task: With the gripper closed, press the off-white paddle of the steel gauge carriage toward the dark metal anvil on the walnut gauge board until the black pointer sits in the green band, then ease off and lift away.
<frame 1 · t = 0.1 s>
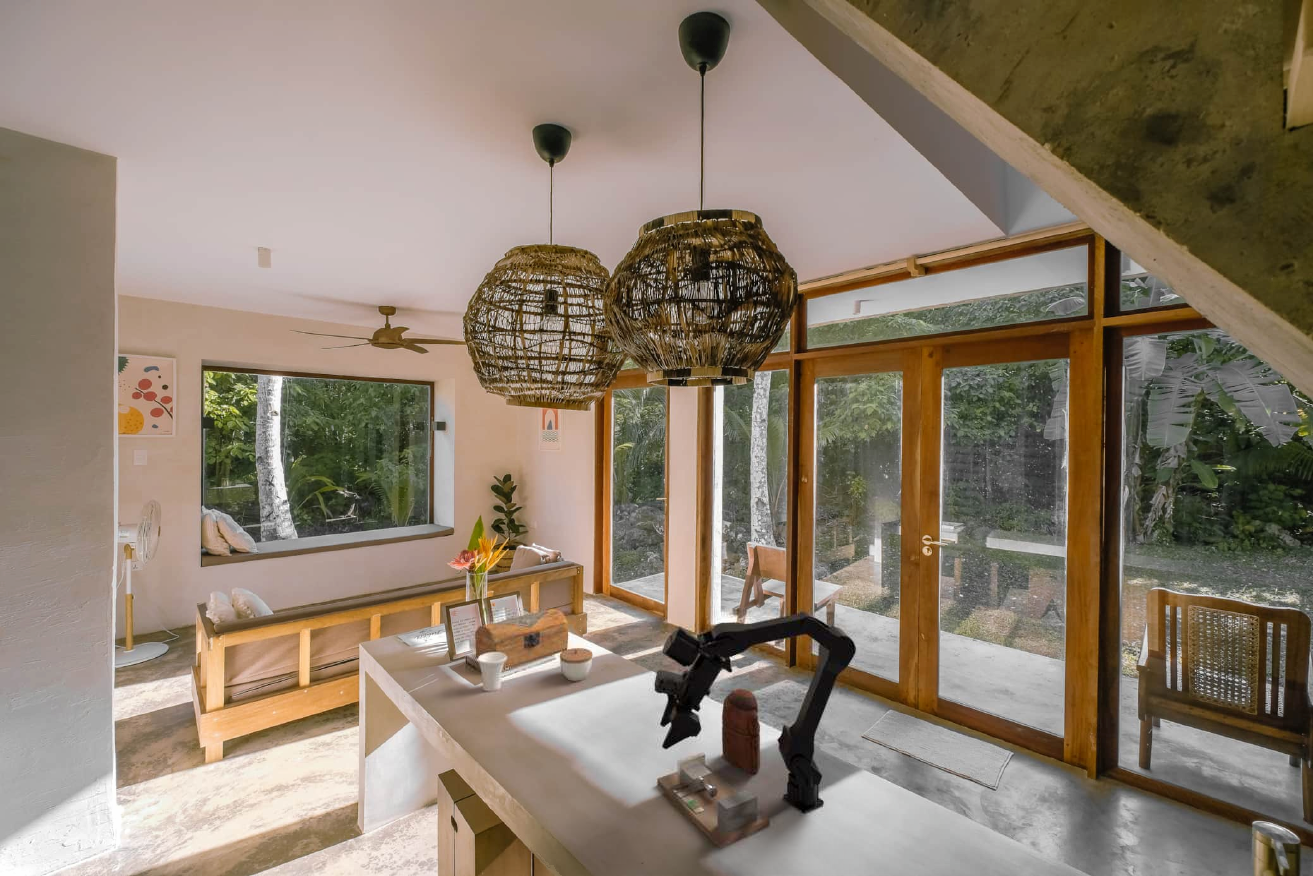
hand: (662, 736, 131), 15 cm above the table, tool tilted 30°, fingers open, 9 cm apart
lidded jar: (576, 677, 197), on the table
cup: (492, 688, 189), on the table
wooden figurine: (742, 763, 147), on the table
wooden box: (523, 656, 215), on the table
gauge carriage: (697, 779, 133), point 4 cm above the table, slide at 0.0 cm
gauge base: (710, 804, 131), on the table
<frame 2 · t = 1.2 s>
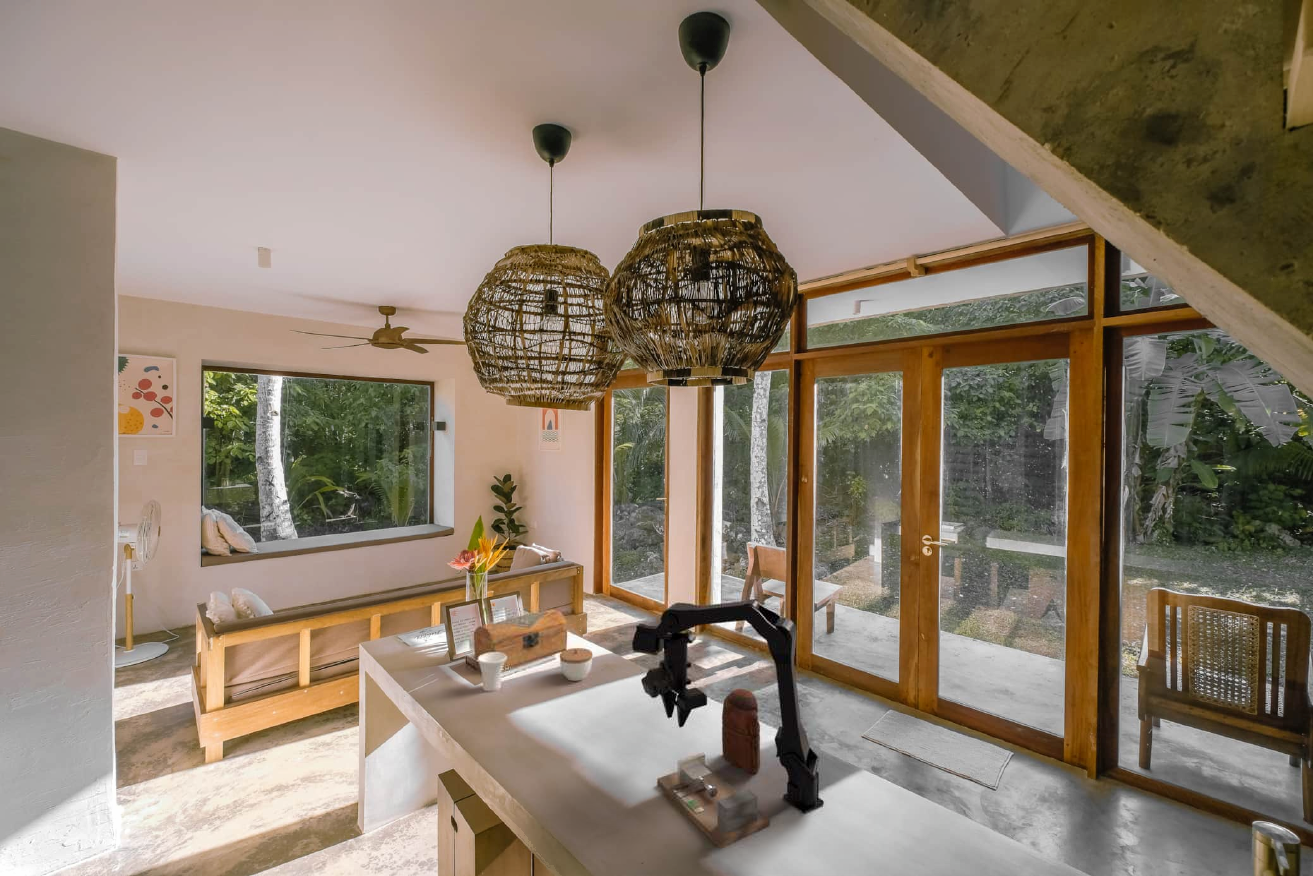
hand: (675, 722, 143), 12 cm above the table, tool pointing down, fingers open, 5 cm apart
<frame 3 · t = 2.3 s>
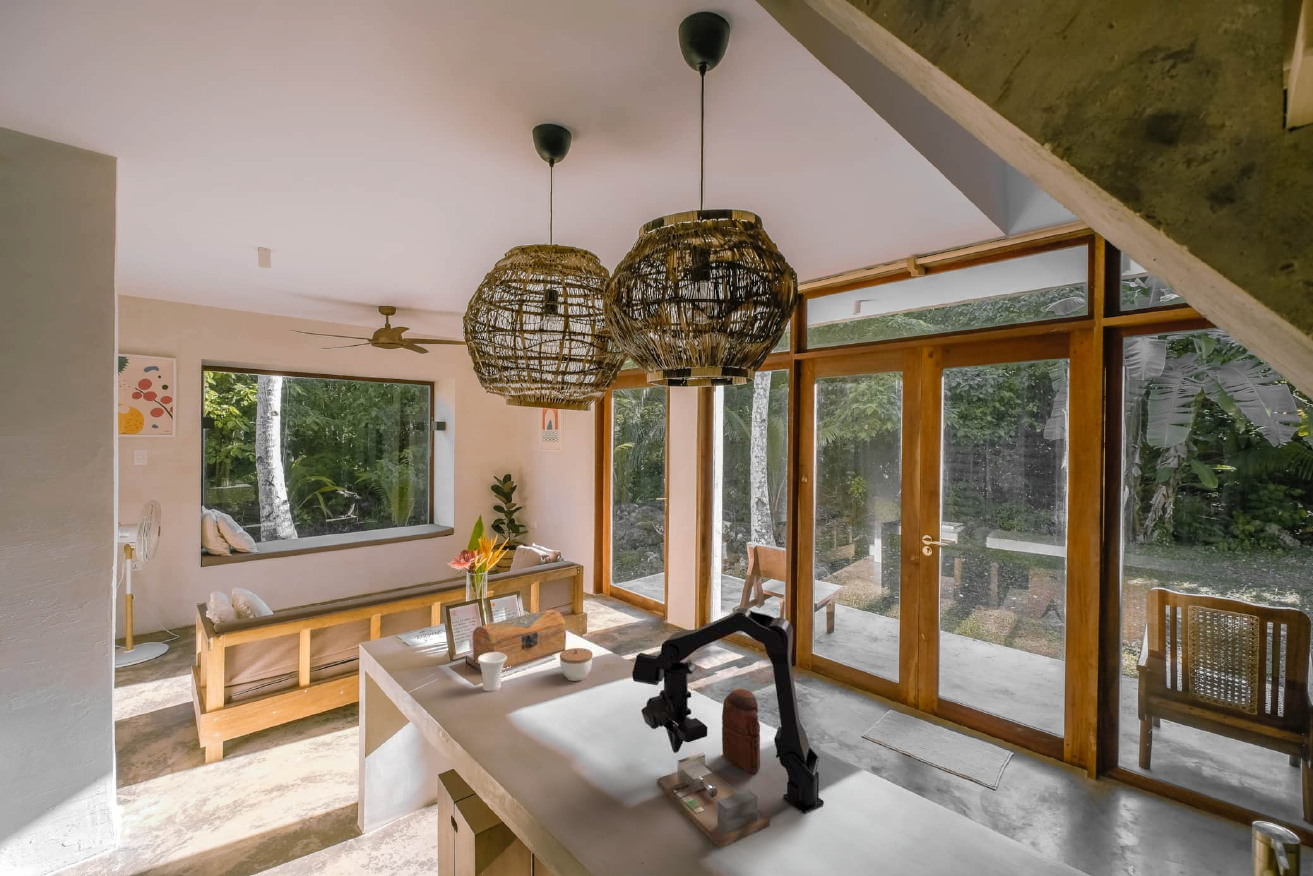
hand: (675, 752, 143), 5 cm above the table, tool pointing down, fingers closed
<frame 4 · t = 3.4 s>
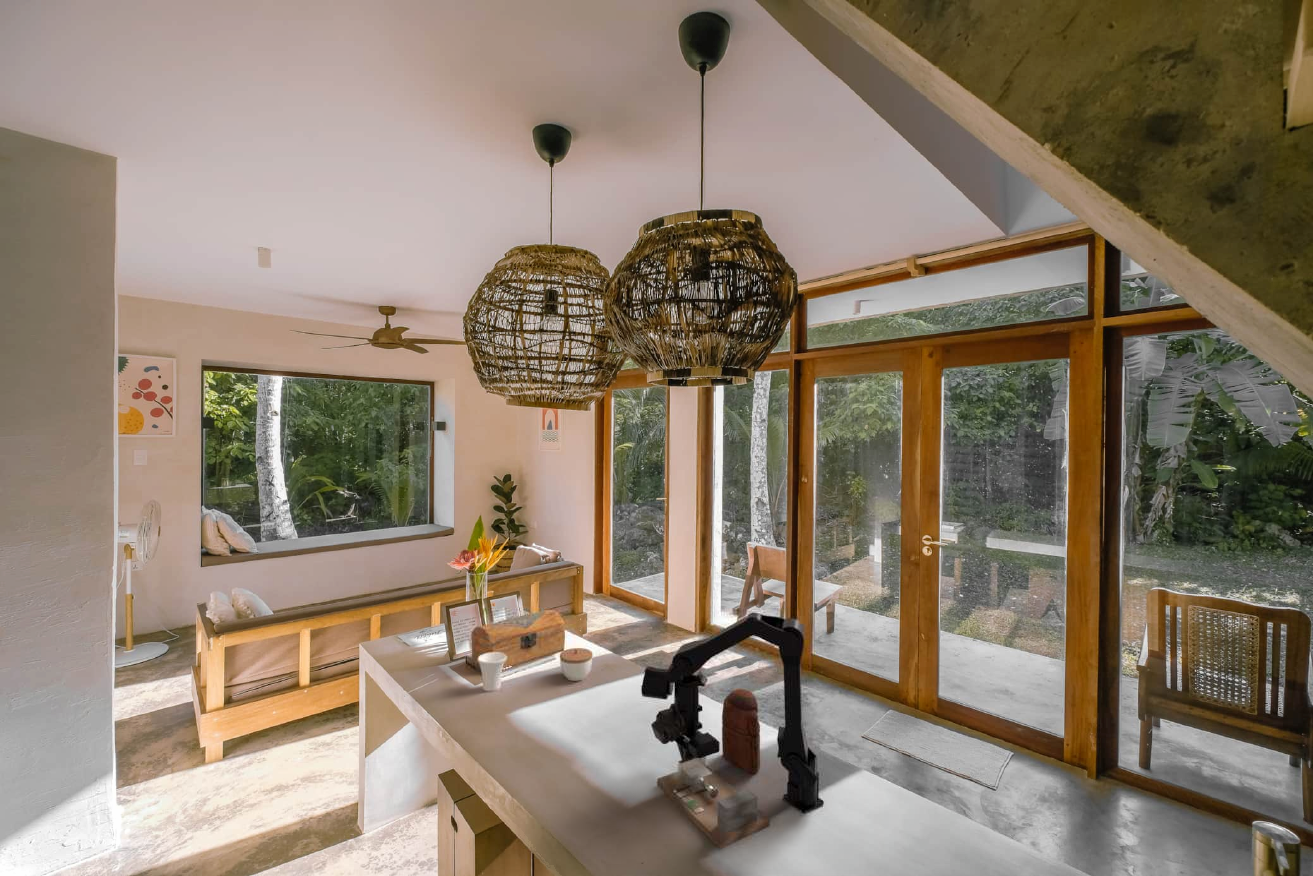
hand: (686, 767, 139), 3 cm above the table, tool pointing down, fingers closed
gauge carriage: (698, 779, 133), point 4 cm above the table, slide at 0.3 cm, touching gripper
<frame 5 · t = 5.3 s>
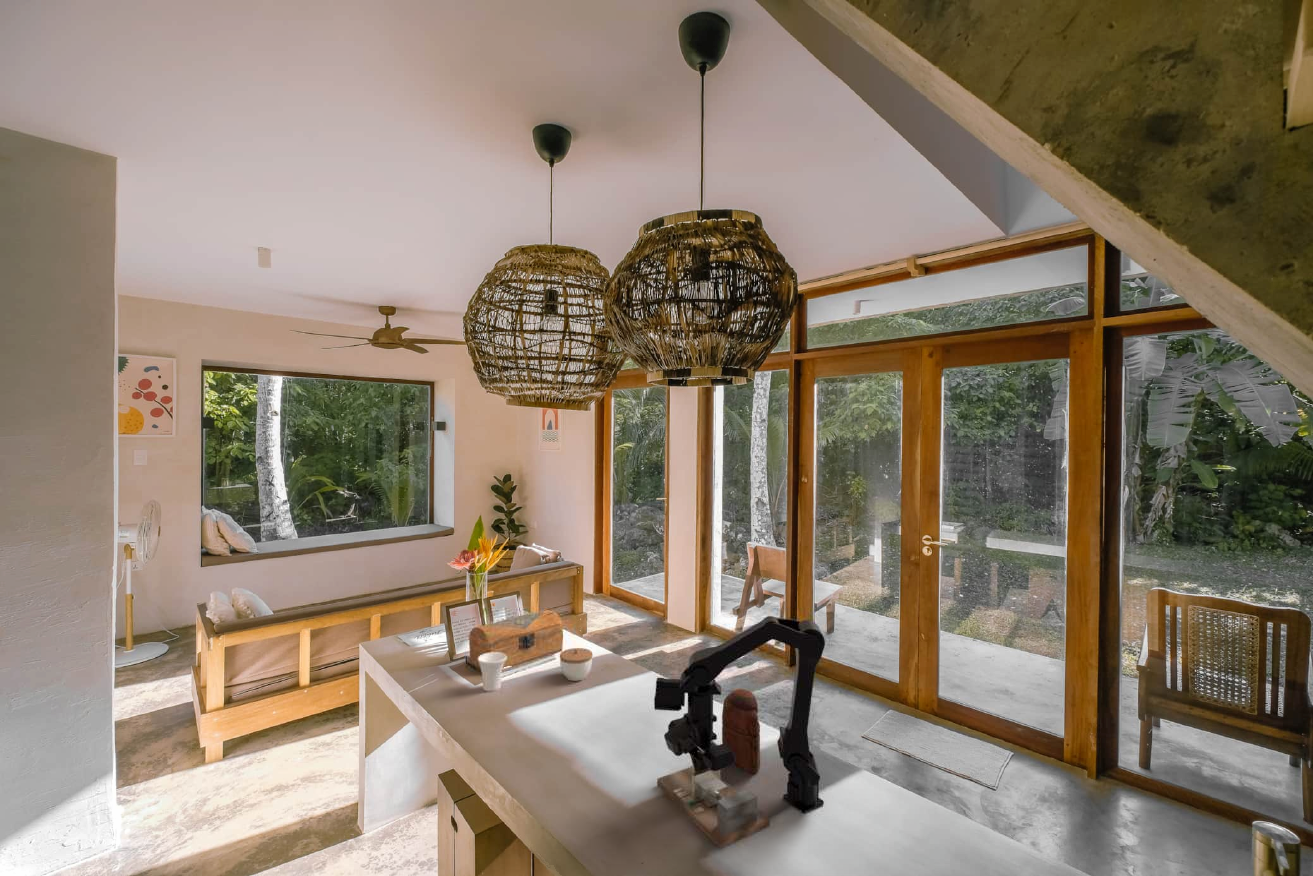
hand: (700, 779, 134), 3 cm above the table, tool pointing down, fingers closed
gauge carriage: (712, 793, 128), point 4 cm above the table, slide at 5.9 cm, touching gripper
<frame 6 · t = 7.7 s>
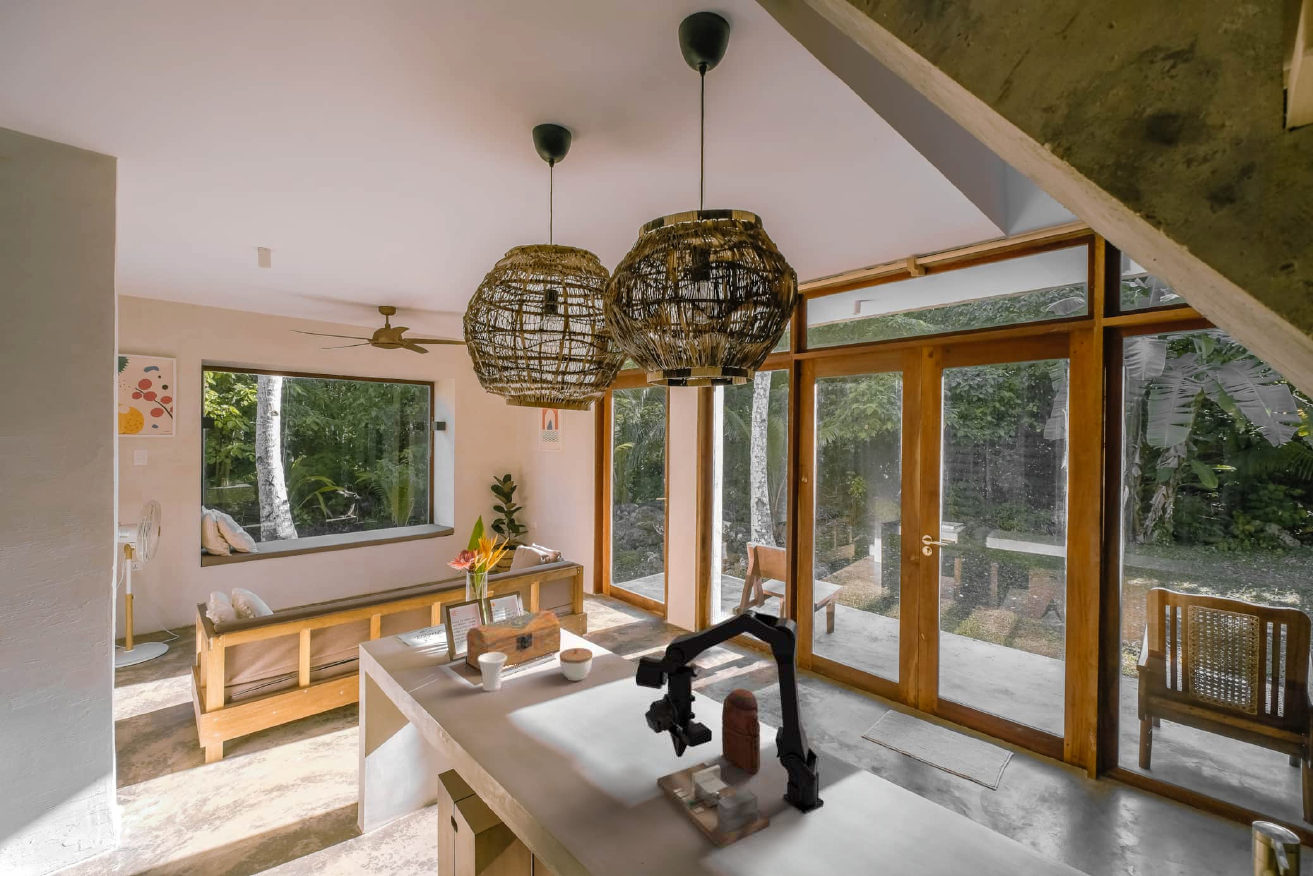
hand: (679, 756, 141), 5 cm above the table, tool pointing down, fingers closed
gauge carriage: (712, 793, 128), point 4 cm above the table, slide at 5.9 cm
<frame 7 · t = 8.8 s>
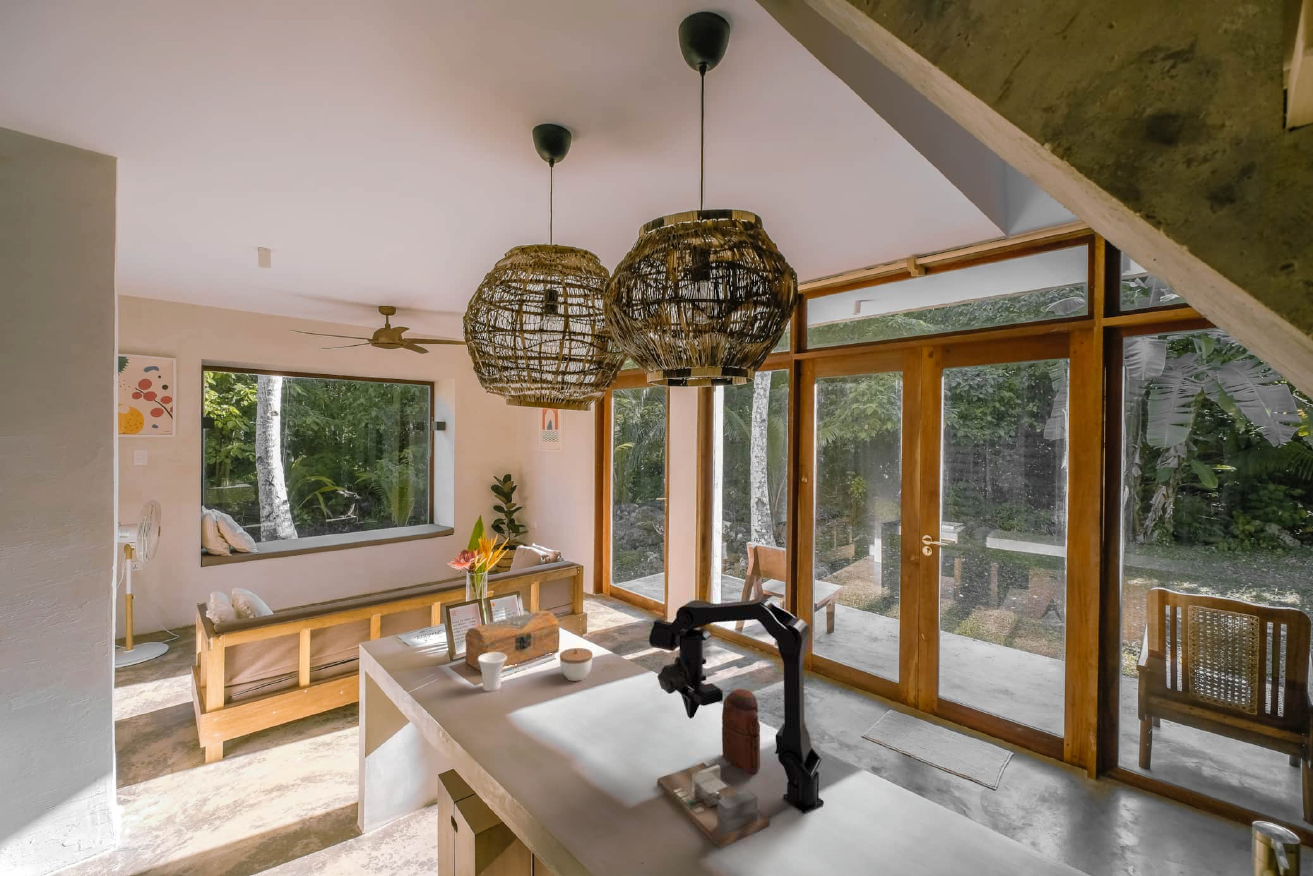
hand: (690, 717, 145), 12 cm above the table, tool pointing down, fingers closed
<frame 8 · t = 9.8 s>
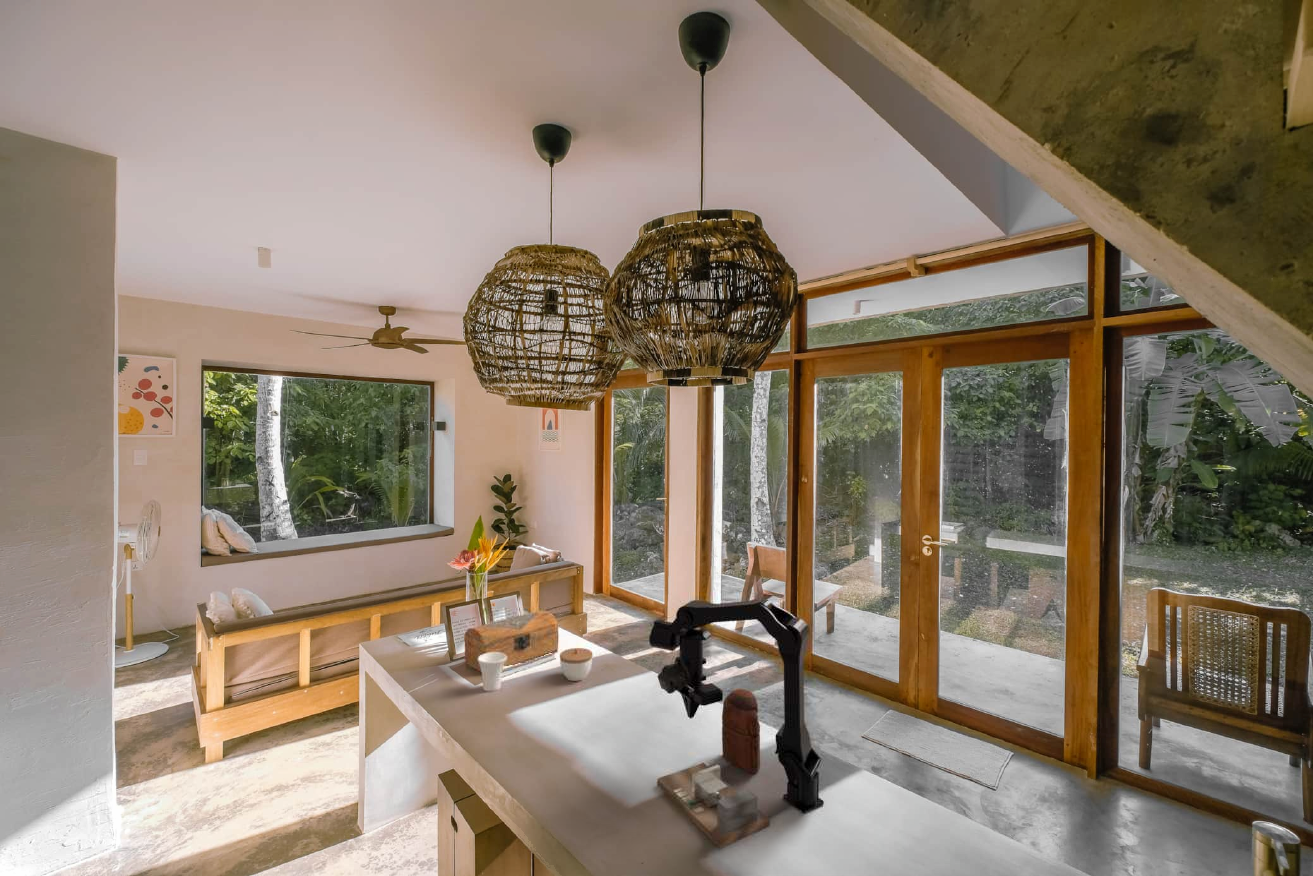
hand: (690, 717, 145), 12 cm above the table, tool pointing down, fingers closed
at the end: gauge carriage slide at 5.9 cm; the gripper is holding nothing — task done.
